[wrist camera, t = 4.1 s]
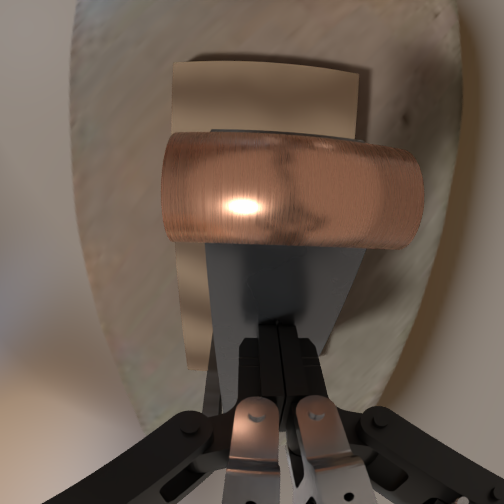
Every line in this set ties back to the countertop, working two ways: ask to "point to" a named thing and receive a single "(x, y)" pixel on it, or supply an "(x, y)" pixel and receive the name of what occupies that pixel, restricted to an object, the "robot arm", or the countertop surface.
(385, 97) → the countertop surface
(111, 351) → the countertop surface
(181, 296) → the cracker base
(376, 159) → the lever
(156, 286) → the countertop surface
